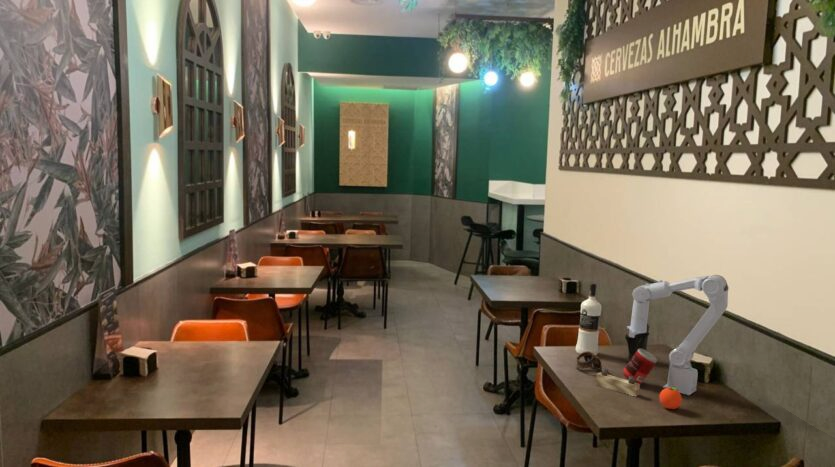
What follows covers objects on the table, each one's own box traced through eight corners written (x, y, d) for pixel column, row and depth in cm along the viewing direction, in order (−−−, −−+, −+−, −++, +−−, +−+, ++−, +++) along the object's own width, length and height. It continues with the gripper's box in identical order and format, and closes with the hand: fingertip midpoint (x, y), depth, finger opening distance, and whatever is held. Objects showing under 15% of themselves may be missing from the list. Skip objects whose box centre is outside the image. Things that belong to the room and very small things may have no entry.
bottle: (635, 356, 263) (640, 310, 261) (648, 361, 257) (654, 314, 255) (624, 358, 260) (629, 311, 257) (637, 363, 254) (643, 315, 252)
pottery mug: (606, 376, 237) (599, 359, 235) (582, 384, 240) (575, 367, 237) (600, 358, 249) (593, 342, 246) (577, 366, 251) (570, 350, 248)
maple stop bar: (638, 395, 218) (640, 378, 218) (635, 397, 216) (637, 380, 215) (598, 382, 228) (600, 366, 228) (595, 384, 226) (596, 368, 225)
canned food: (642, 382, 232) (659, 359, 229) (638, 387, 225) (655, 363, 222) (624, 369, 235) (640, 346, 232) (620, 374, 228) (636, 350, 226)
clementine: (666, 402, 213) (669, 382, 213) (686, 409, 208) (688, 388, 207) (654, 406, 208) (656, 386, 208) (673, 414, 203) (676, 393, 202)
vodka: (602, 355, 261) (609, 285, 258) (584, 357, 258) (591, 286, 254) (588, 349, 270) (595, 281, 266) (570, 350, 266) (577, 281, 262)
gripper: (635, 311, 242) (631, 345, 244) (622, 318, 230) (618, 353, 232) (653, 315, 238) (649, 350, 240) (641, 322, 226) (637, 358, 228)
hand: (635, 352), depth 236 cm, fingers open, 7 cm apart
